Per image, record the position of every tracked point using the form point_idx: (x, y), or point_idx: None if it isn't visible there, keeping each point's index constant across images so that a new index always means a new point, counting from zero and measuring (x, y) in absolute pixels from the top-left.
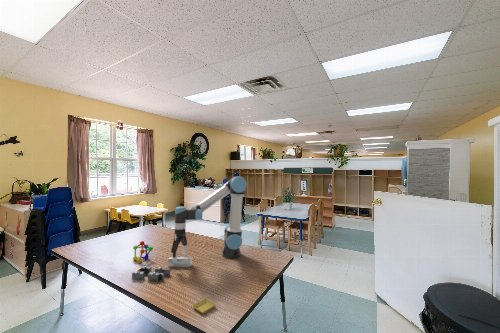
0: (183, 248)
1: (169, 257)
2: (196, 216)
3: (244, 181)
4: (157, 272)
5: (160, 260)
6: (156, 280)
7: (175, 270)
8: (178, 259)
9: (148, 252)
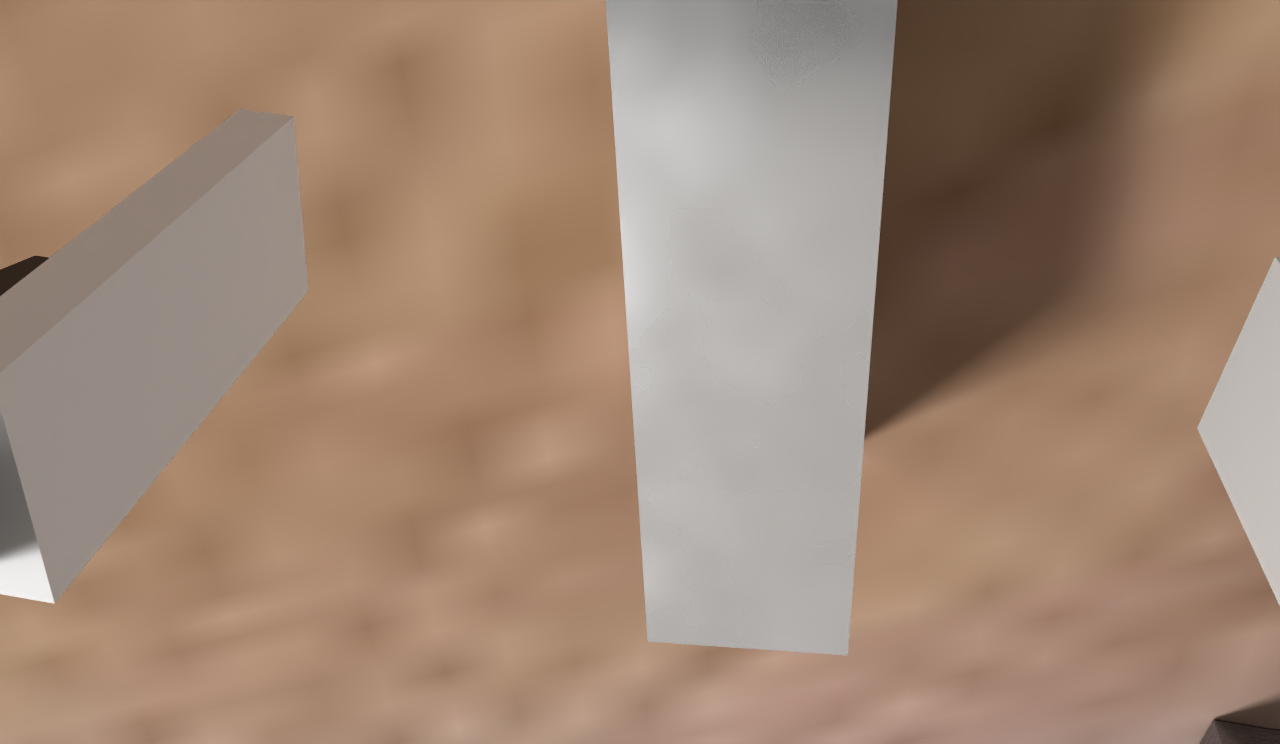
0: (135, 383)
1: (701, 644)
2: None
3: None
4: None
5: (412, 723)
6: None
7: (1178, 131)
8: (877, 261)
9: None
